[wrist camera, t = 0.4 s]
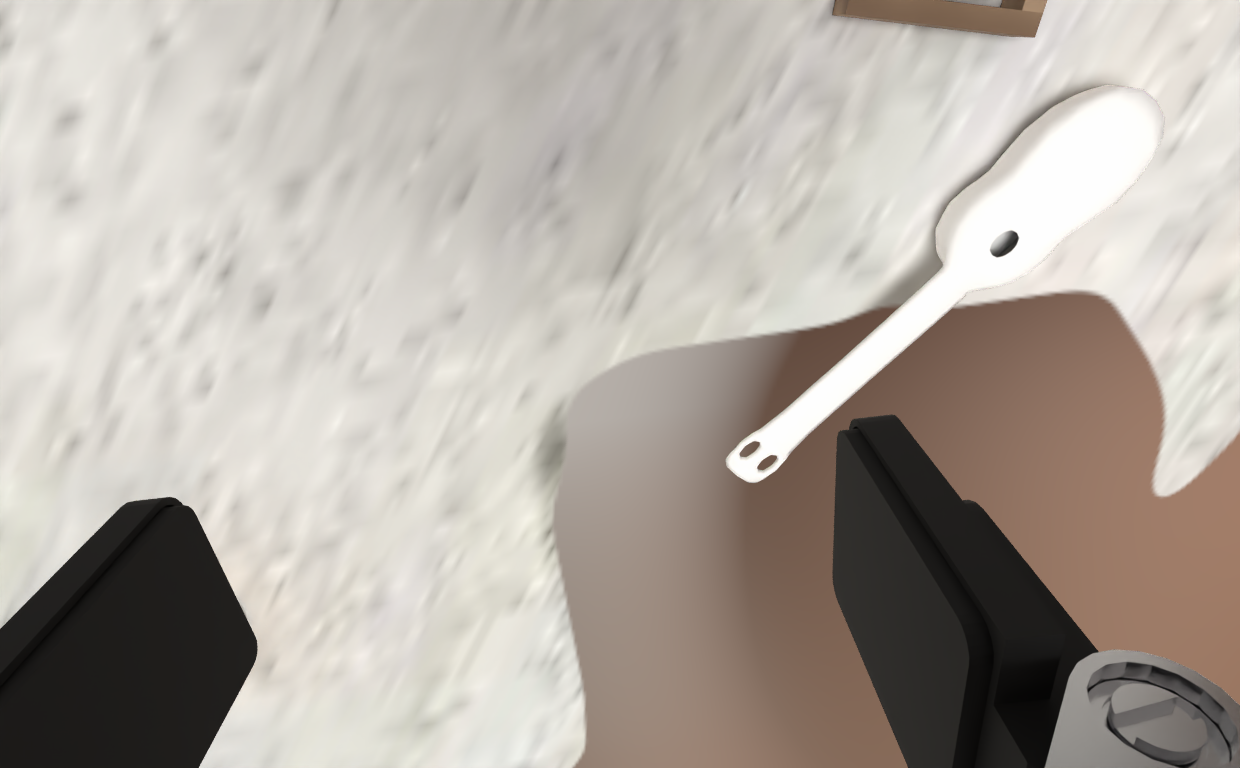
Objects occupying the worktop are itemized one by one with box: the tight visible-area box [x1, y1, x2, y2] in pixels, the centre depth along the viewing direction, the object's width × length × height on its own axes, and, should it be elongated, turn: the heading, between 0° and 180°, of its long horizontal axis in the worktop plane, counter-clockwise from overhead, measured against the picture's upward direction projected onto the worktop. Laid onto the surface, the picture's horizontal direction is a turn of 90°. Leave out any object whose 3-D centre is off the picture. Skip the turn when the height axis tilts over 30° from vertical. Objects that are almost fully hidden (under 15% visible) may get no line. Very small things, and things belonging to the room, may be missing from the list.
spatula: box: [726, 85, 1165, 483], centre depth 39 cm, size 28×6×3 cm, turn 139°
